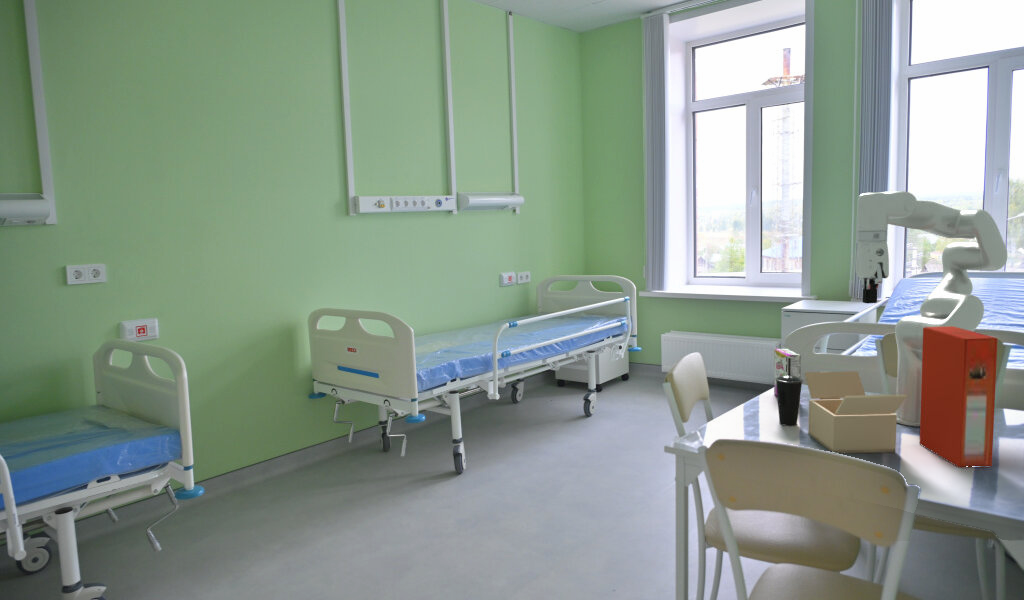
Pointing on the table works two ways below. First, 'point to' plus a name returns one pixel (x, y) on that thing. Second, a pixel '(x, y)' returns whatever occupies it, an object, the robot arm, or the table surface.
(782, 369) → the candy bar box
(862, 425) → the carton
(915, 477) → the table surface
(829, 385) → the flap
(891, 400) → the flap
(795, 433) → the table surface
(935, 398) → the file binder
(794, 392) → the drinking cup
